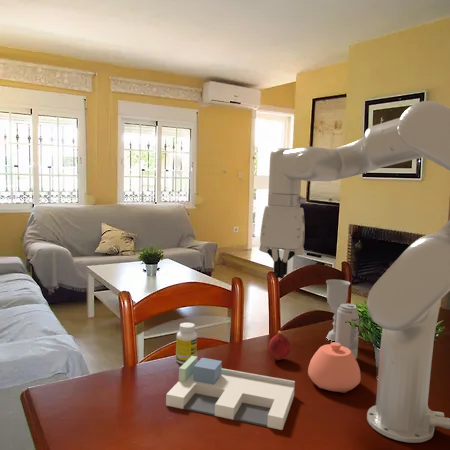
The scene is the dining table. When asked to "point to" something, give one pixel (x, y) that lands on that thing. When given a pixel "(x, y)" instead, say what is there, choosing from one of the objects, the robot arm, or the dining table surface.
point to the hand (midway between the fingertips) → (280, 277)
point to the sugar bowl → (334, 368)
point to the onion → (279, 346)
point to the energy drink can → (347, 327)
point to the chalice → (336, 300)
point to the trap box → (234, 396)
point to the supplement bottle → (186, 342)
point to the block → (207, 370)
